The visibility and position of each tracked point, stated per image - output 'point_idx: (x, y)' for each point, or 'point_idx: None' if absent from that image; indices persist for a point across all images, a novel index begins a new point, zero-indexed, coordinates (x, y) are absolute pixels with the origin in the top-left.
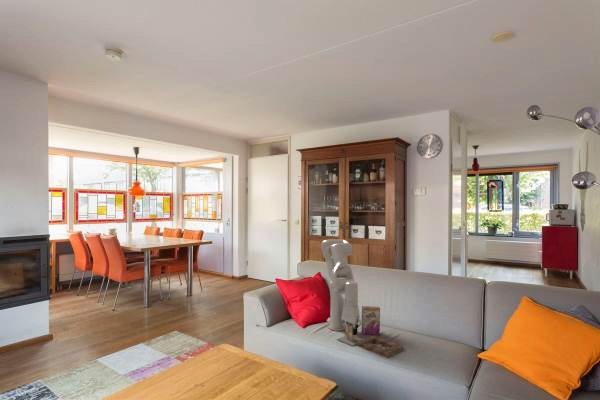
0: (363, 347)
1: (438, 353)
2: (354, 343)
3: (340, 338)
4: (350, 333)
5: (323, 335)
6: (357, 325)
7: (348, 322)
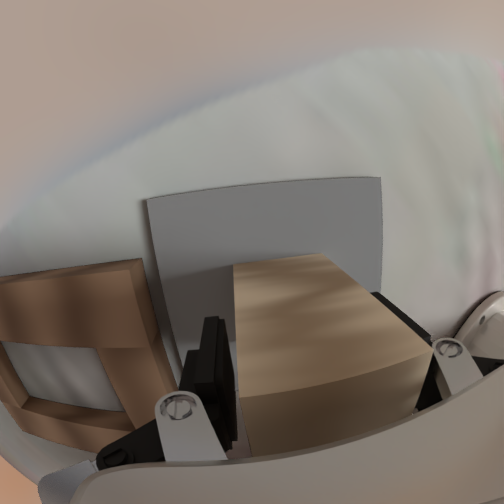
0: (70, 268)
1: (8, 444)
2: (172, 256)
3: (368, 222)
4: (256, 300)
5: (479, 167)
6: (105, 462)
7: (381, 427)
